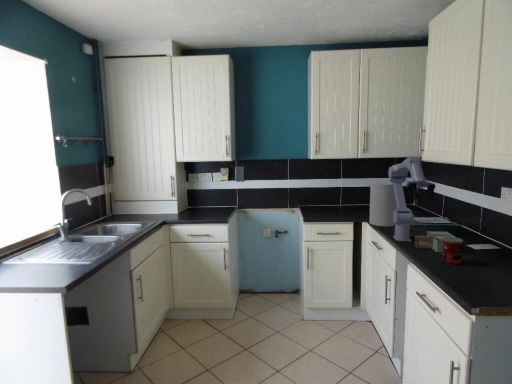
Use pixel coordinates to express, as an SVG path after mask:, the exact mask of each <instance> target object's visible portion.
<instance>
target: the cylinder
mask: <svg viewBox="0 0 512 384" xmlns="http://www.w3.org/2000/svg"><path fill="white" fill-rule="evenodd" d="M369 185H370V187H369V188H370V190H369V191H370V193H369V194H370V195H369V224H371V225H373V226H378V227H392V226H393V227H395V225H396V224H395V223H394V221H393V212H394V211H395V210H396V209H397V203H396V198H395V192H394V186H393V183H392V182H384V183H383V182H374V183H373V182H370V184H369Z"/></svg>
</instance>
